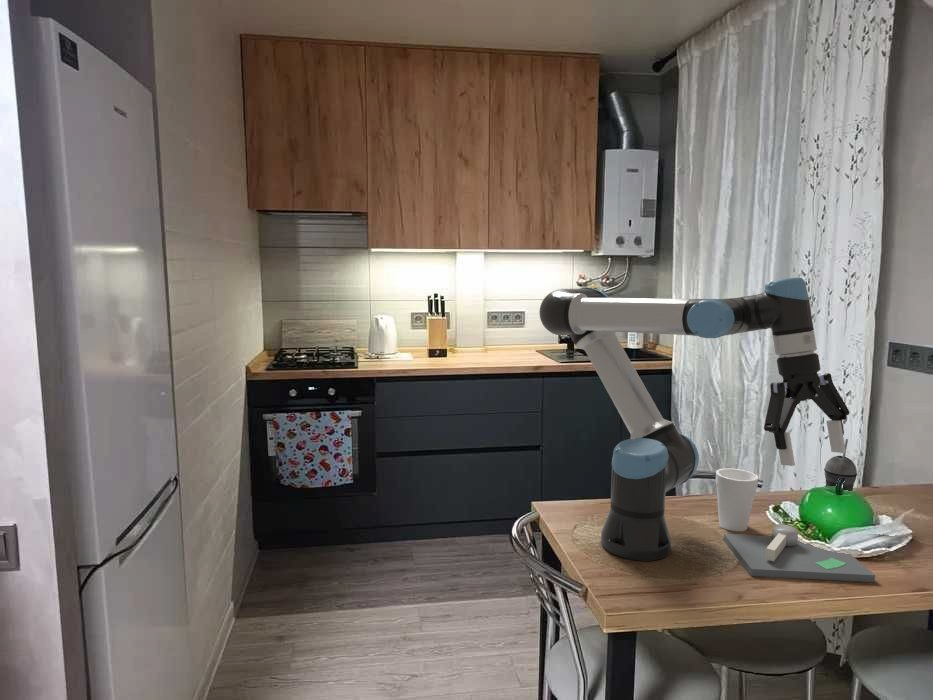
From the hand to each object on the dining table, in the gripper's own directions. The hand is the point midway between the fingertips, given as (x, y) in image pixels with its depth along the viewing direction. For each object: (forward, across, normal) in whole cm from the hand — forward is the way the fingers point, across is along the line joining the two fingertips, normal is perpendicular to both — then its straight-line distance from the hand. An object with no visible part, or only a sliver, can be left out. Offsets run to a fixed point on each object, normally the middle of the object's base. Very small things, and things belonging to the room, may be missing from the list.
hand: (813, 458), depth 124 cm
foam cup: (+20, +1, +28) cm, 34 cm away
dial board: (+23, 0, +10) cm, 25 cm away
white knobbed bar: (+20, -2, +11) cm, 23 cm away
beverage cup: (+23, +31, +25) cm, 46 cm away
